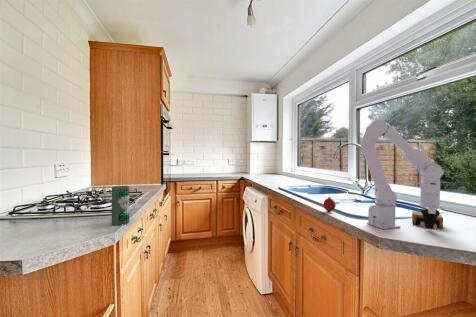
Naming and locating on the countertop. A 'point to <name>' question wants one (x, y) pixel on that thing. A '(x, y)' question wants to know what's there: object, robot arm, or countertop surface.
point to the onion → (329, 204)
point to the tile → (424, 224)
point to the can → (120, 205)
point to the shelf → (418, 216)
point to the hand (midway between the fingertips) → (429, 228)
